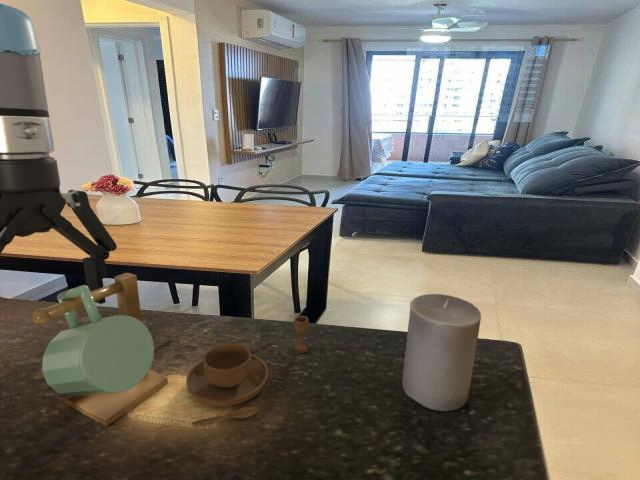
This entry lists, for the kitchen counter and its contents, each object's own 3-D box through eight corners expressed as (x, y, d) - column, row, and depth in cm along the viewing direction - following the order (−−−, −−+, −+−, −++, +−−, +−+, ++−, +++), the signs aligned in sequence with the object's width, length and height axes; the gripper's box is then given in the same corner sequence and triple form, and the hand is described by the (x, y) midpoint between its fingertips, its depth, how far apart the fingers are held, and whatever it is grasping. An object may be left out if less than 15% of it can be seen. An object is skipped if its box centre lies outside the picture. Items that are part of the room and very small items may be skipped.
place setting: (191, 355, 64) (188, 323, 63) (306, 342, 69) (307, 313, 68) (182, 432, 48) (178, 393, 47) (333, 408, 53) (335, 372, 51)
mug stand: (19, 413, 50) (-8, 294, 46) (115, 360, 62) (101, 261, 58) (75, 448, 45) (51, 318, 41) (168, 382, 57) (157, 276, 53)
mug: (100, 408, 41) (58, 410, 45) (164, 366, 48) (123, 372, 53) (52, 295, 40) (14, 308, 44) (125, 270, 47) (86, 283, 52)
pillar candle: (458, 372, 62) (471, 287, 58) (476, 415, 53) (493, 318, 48) (397, 367, 63) (406, 283, 58) (405, 409, 53) (416, 313, 49)
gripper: (-128, 165, 32) (-64, 382, 38) (132, 153, 53) (147, 292, 59) (-160, 159, 35) (-96, 361, 41) (98, 150, 56) (115, 283, 62)
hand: (48, 320), depth 50 cm, fingers open, 13 cm apart
